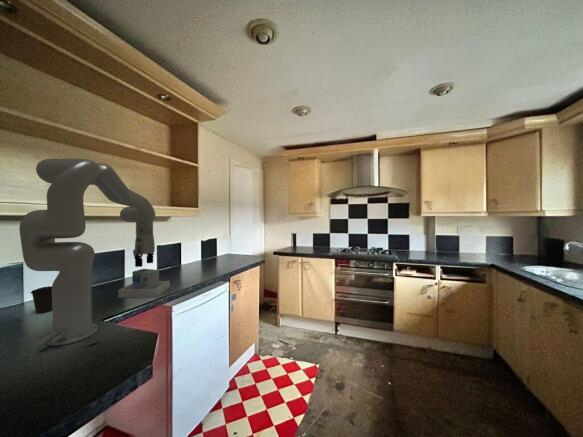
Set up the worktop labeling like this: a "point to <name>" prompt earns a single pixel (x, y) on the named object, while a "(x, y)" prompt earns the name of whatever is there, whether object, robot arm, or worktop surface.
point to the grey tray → (143, 291)
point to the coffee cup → (42, 299)
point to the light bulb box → (145, 279)
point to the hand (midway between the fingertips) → (144, 264)
